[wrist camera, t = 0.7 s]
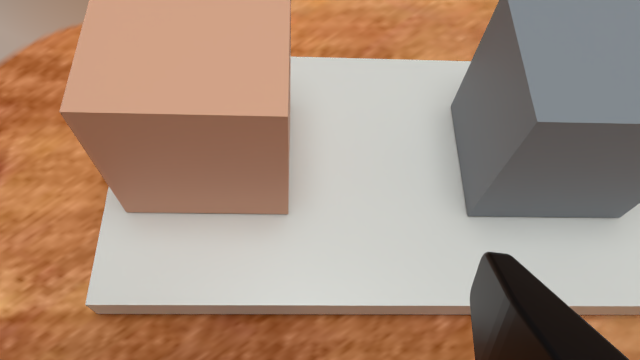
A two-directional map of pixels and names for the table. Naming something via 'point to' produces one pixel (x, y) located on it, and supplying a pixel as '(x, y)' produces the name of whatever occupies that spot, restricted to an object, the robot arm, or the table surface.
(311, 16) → the table surface
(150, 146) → the terracotta block
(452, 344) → the table surface
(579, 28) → the dark slate block
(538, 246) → the grey base board
